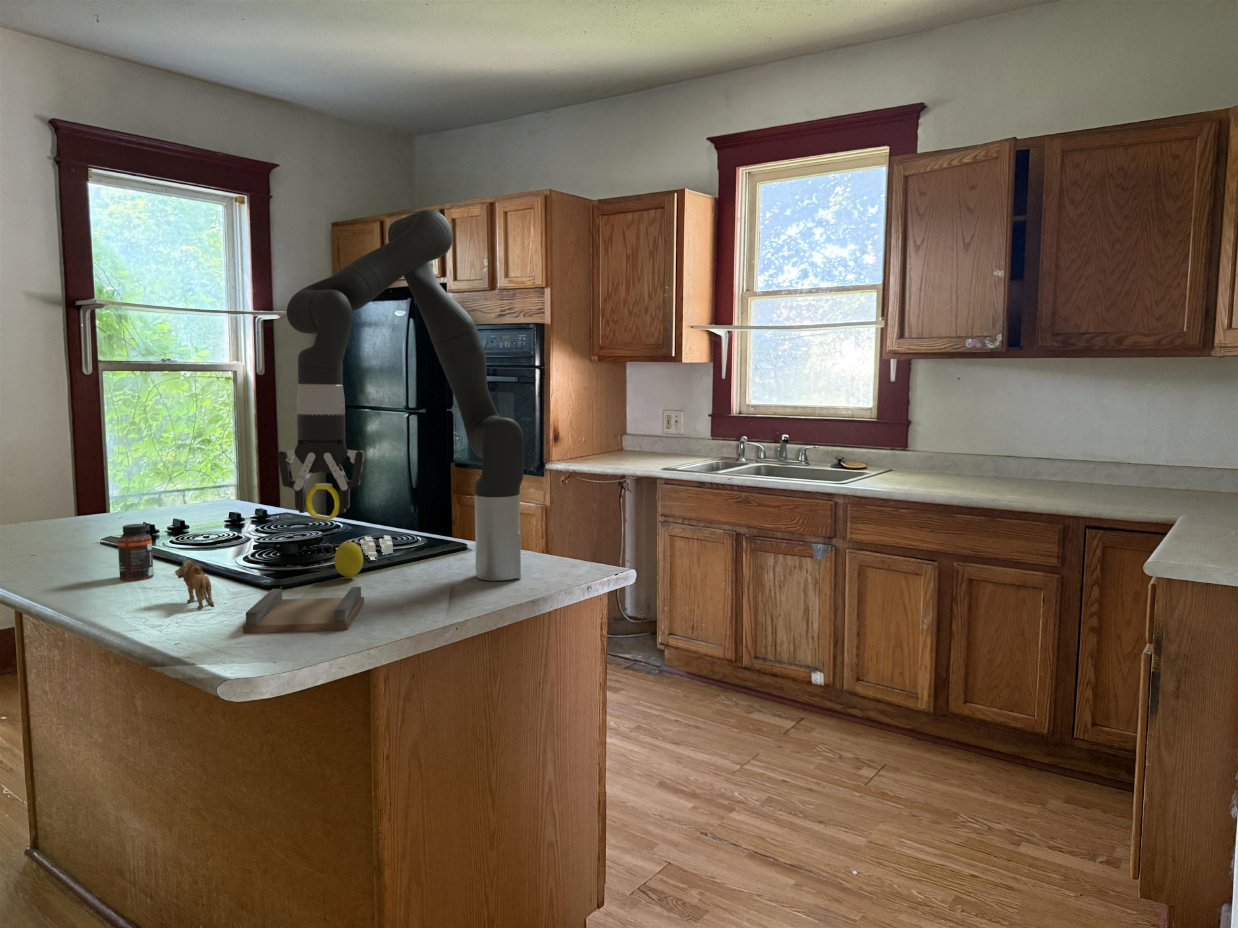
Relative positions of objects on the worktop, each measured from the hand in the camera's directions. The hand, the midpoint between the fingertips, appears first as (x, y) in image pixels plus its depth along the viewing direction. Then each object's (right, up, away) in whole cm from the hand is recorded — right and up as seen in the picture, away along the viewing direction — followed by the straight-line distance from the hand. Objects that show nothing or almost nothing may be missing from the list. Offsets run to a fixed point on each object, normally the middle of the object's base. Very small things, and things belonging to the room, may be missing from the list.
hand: (322, 511), depth 142 cm
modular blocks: (-6, -14, +54) cm, 56 cm away
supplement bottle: (-47, -16, +28) cm, 57 cm away
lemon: (-5, -16, +30) cm, 34 cm away
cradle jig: (-3, -18, +1) cm, 18 cm away
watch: (0, -1, 0) cm, 1 cm away
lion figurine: (-26, -17, +10) cm, 33 cm away
